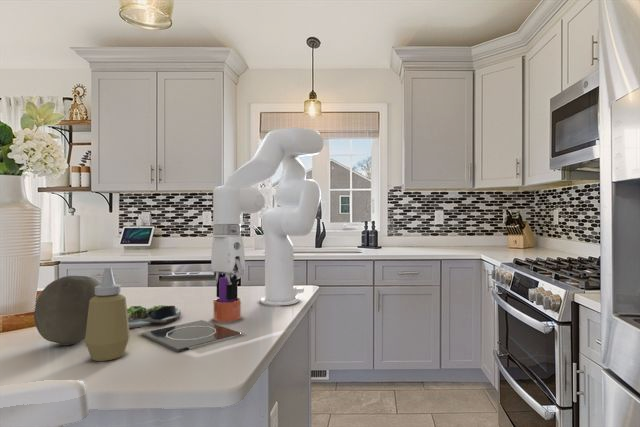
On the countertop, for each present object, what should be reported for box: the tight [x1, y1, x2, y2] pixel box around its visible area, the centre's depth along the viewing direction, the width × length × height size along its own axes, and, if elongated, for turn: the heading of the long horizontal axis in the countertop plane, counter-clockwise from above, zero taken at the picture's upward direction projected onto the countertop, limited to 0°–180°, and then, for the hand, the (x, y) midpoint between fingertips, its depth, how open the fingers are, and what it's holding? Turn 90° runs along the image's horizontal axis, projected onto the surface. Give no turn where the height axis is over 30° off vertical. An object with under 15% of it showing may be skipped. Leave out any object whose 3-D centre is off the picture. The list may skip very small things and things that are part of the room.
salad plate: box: [127, 304, 181, 329], centre depth 108 cm, size 19×18×5 cm
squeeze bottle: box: [84, 266, 131, 362], centre depth 81 cm, size 8×8×18 cm
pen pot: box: [212, 297, 242, 323], centre depth 110 cm, size 7×7×6 cm
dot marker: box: [218, 276, 234, 302], centre depth 109 cm, size 4×4×11 cm
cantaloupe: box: [33, 275, 101, 346], centre depth 90 cm, size 14×14×15 cm
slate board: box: [141, 319, 242, 353], centre depth 95 cm, size 16×18×1 cm
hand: (226, 297), depth 109 cm, fingers closed on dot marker, 4 cm apart
